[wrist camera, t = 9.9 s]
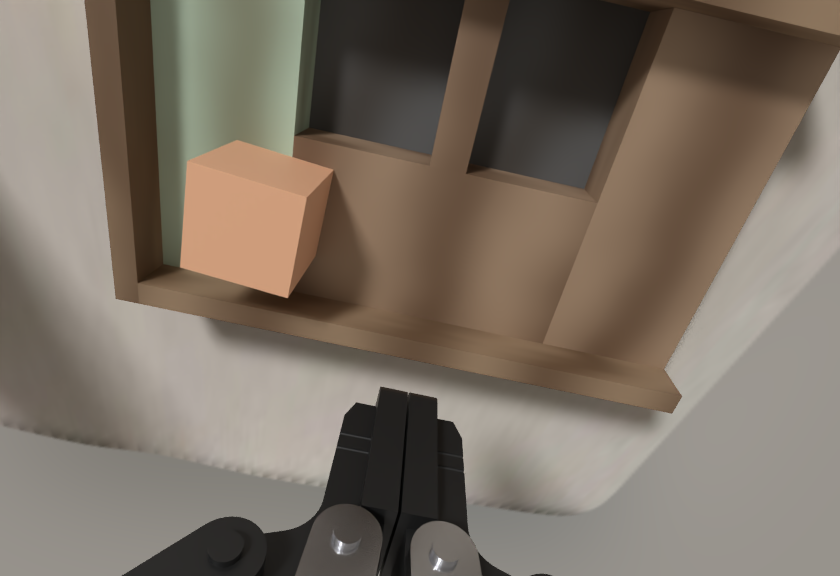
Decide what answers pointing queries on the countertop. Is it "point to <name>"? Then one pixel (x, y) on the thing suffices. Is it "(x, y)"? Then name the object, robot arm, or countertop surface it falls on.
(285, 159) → the terracotta block
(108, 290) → the countertop surface
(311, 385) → the countertop surface
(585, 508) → the countertop surface
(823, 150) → the countertop surface
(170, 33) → the box
